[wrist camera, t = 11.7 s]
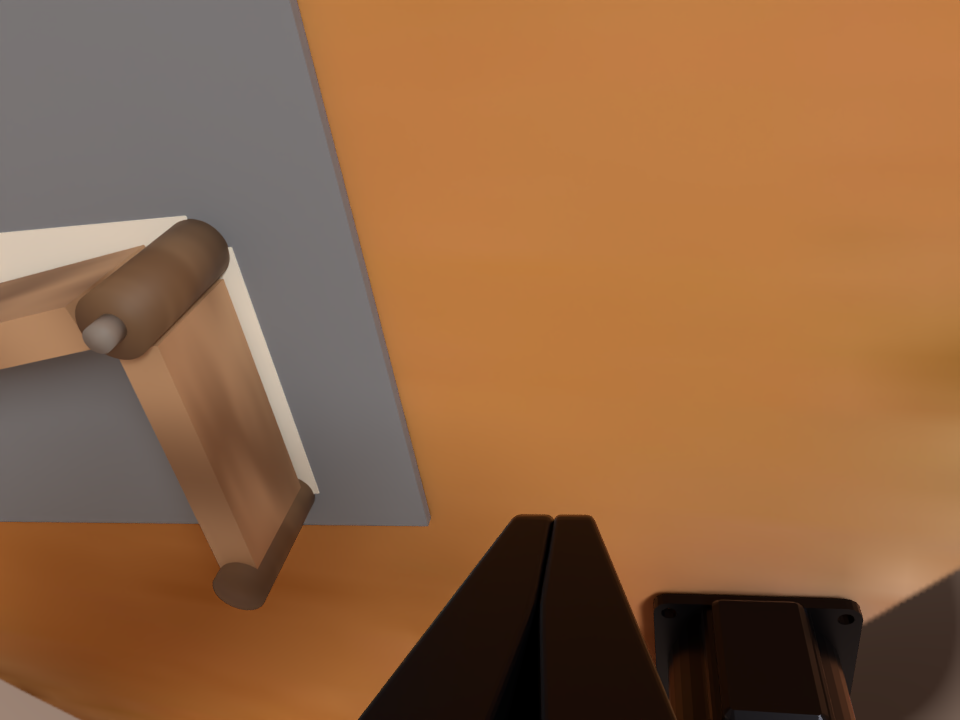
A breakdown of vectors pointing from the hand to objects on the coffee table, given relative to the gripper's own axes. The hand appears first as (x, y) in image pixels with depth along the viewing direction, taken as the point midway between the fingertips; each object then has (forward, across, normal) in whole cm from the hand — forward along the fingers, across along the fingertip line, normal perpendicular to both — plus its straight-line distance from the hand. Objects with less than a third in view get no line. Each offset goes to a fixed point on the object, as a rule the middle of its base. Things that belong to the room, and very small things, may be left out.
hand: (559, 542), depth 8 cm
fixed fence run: (+12, +11, +6) cm, 17 cm away
